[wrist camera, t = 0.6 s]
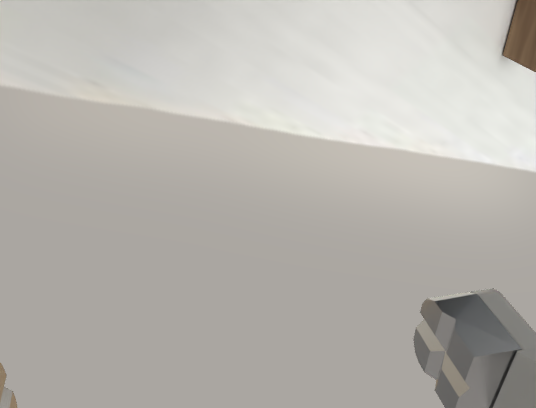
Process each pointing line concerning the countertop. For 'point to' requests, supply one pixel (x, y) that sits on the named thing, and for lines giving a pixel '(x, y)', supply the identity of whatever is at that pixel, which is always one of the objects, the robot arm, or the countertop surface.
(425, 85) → the countertop surface
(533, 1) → the door
